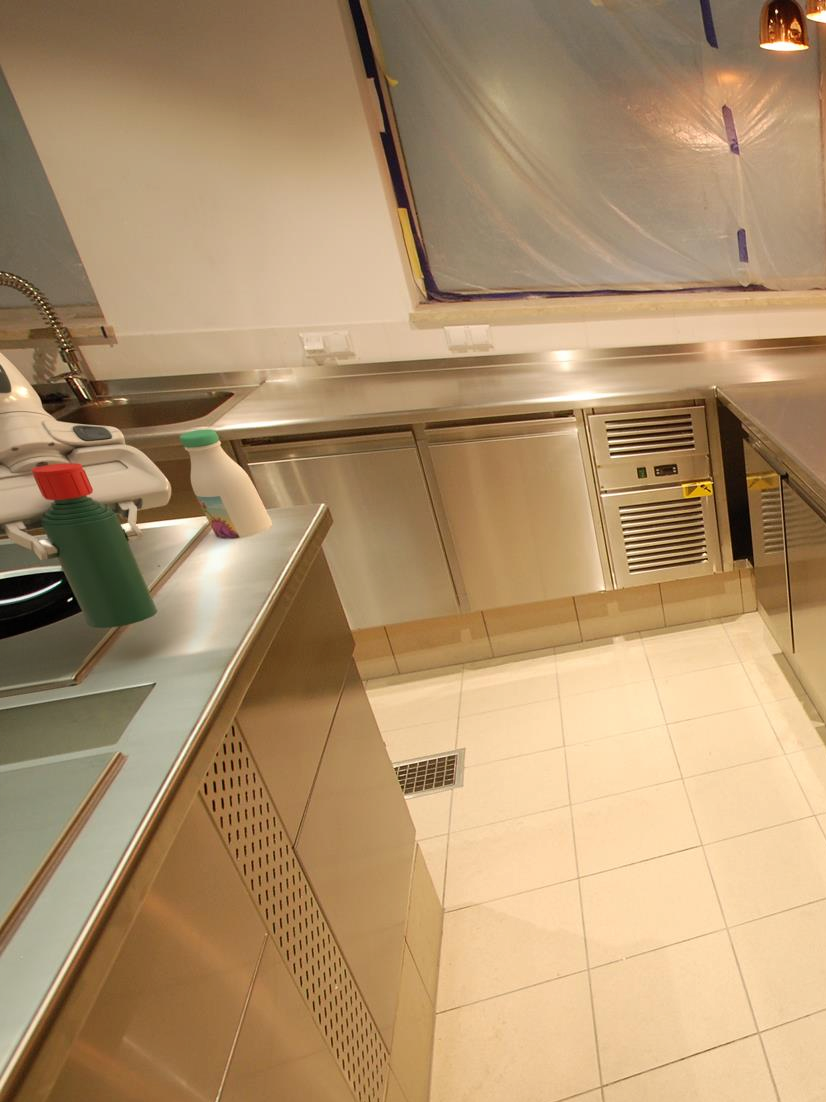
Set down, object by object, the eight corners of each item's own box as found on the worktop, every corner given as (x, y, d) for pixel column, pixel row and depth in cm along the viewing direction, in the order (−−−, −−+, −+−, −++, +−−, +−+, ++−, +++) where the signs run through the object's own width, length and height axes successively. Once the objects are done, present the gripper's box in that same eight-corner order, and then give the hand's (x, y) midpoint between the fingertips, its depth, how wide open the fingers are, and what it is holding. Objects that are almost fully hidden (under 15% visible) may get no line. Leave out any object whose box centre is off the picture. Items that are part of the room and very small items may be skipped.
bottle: (80, 632, 101) (9, 481, 93) (97, 613, 106) (31, 468, 98) (150, 622, 104) (86, 474, 96) (163, 604, 109) (104, 462, 101)
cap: (38, 501, 95) (25, 473, 94) (51, 493, 99) (39, 465, 97) (86, 497, 97) (74, 469, 96) (97, 489, 100) (86, 461, 99)
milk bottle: (276, 534, 147) (222, 422, 136) (285, 547, 142) (230, 432, 132) (222, 548, 142) (162, 433, 132) (229, 562, 138) (168, 444, 127)
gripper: (-107, 455, 90) (-32, 557, 90) (133, 425, 106) (197, 511, 106) (-99, 489, 94) (-27, 587, 94) (132, 455, 110) (194, 539, 110)
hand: (94, 547), depth 100 cm, fingers closed on bottle, 6 cm apart
